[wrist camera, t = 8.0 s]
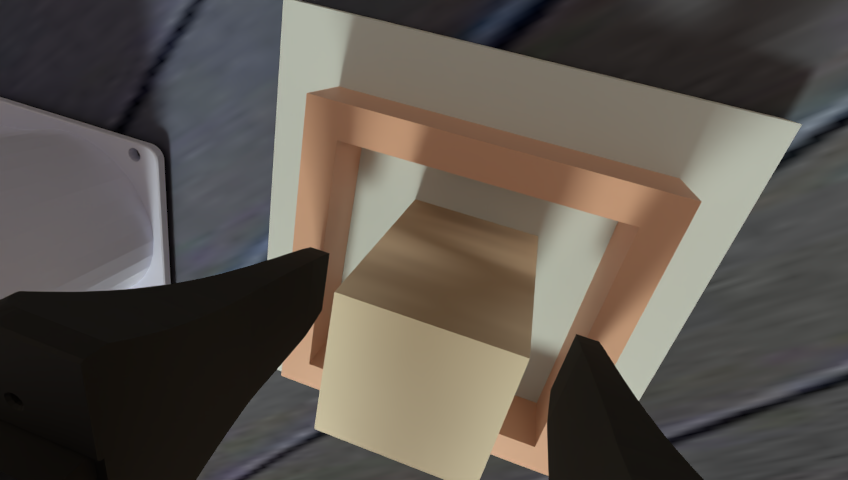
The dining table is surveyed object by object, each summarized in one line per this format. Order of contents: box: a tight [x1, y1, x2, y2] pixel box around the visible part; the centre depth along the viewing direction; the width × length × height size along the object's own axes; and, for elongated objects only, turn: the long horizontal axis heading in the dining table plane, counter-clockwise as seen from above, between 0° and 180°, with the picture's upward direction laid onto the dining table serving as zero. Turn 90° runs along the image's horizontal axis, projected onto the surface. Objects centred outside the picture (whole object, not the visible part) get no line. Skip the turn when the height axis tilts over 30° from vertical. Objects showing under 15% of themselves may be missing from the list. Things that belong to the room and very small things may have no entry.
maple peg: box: [314, 199, 538, 480], centre depth 12 cm, size 4×4×6 cm
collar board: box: [267, 0, 802, 476], centre depth 15 cm, size 14×14×3 cm
